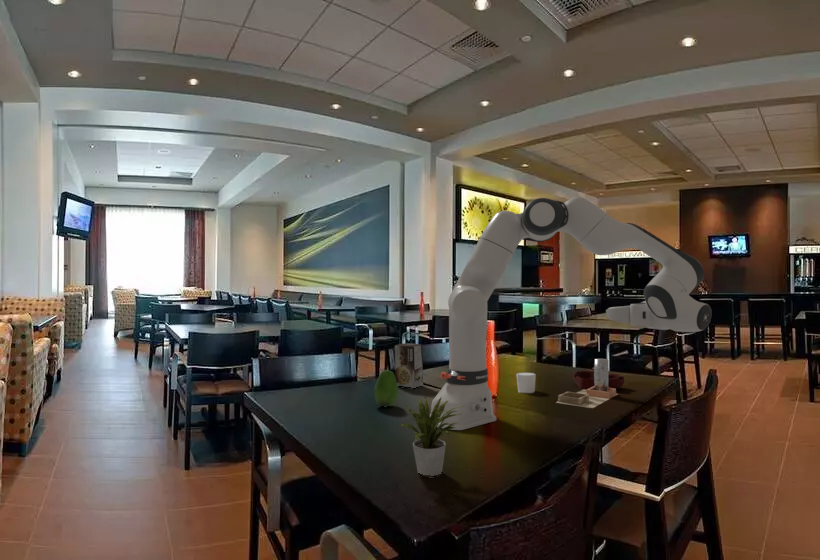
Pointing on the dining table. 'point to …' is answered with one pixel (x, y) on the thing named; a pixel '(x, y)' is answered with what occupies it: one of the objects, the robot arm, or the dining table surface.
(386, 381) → the avocado
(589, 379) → the ashtray
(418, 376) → the coffee box
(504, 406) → the dining table surface
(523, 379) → the white cup
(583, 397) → the rail board
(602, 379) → the peg
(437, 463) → the house plant
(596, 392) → the marked socket
